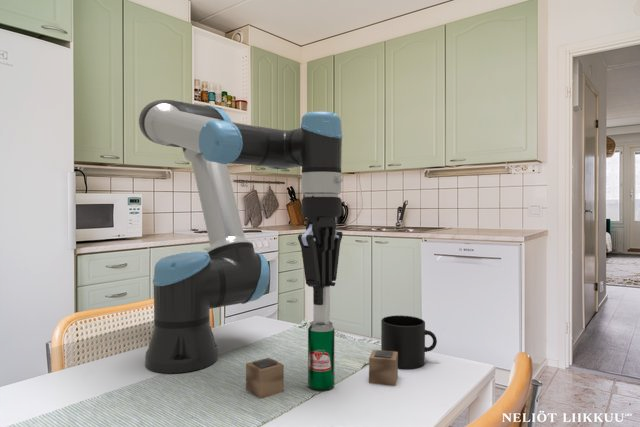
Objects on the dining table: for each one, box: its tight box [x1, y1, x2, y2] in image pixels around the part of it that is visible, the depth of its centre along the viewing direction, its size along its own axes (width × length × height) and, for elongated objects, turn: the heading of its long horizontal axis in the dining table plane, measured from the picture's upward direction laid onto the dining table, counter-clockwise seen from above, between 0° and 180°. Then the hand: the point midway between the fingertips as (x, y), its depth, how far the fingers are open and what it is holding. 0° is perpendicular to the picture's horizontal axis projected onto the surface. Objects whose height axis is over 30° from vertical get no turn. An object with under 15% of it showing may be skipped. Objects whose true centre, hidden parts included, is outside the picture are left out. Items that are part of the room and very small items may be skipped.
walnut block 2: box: [368, 349, 399, 387], centre depth 86 cm, size 5×5×5 cm
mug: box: [380, 314, 438, 370], centre depth 96 cm, size 9×12×9 cm
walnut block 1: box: [245, 357, 285, 399], centre depth 81 cm, size 5×5×5 cm
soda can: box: [307, 320, 336, 391], centre depth 83 cm, size 5×5×12 cm
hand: (321, 320), depth 83 cm, fingers closed
